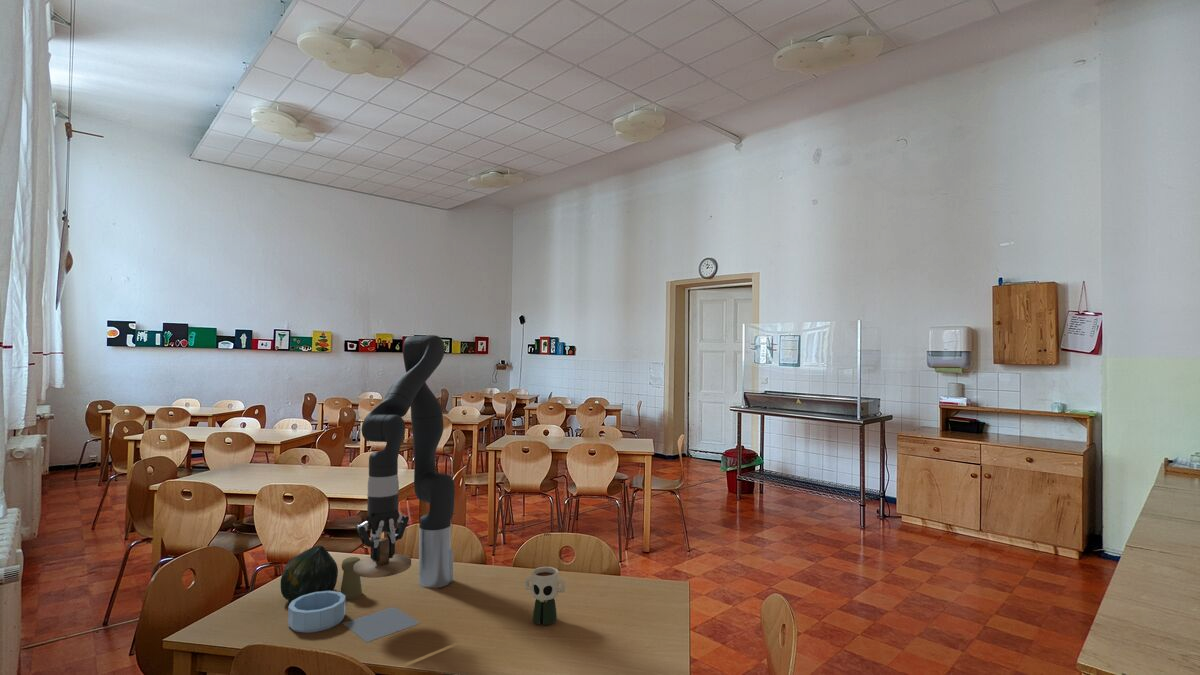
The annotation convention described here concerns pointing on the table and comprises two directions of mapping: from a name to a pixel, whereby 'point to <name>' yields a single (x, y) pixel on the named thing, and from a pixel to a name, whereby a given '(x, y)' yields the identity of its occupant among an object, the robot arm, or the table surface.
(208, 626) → the table surface
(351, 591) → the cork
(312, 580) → the squash
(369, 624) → the mat
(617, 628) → the table surface
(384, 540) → the lid
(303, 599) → the bowl
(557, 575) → the character mug
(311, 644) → the table surface
